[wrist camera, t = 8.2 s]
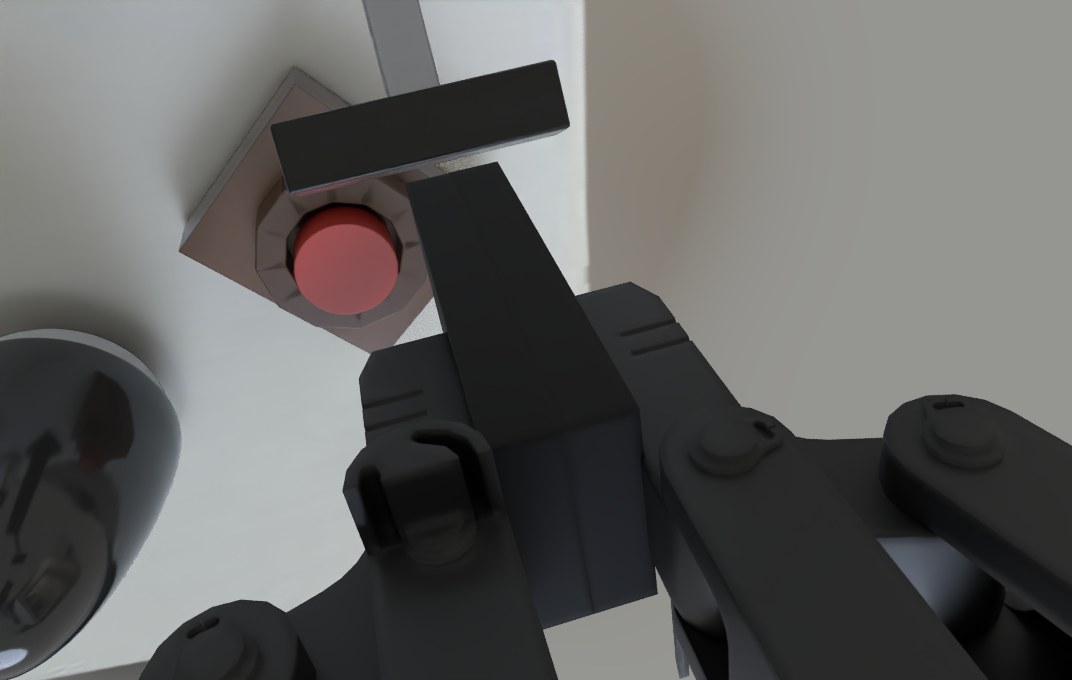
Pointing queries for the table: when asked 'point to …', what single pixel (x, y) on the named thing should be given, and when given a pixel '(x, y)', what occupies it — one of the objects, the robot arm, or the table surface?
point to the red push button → (345, 260)
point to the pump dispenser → (73, 483)
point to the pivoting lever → (416, 112)
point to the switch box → (276, 217)
